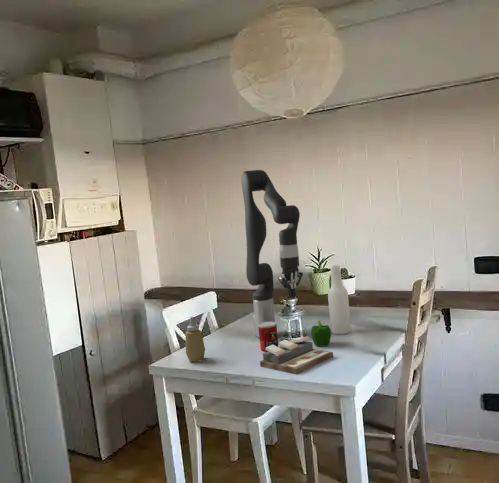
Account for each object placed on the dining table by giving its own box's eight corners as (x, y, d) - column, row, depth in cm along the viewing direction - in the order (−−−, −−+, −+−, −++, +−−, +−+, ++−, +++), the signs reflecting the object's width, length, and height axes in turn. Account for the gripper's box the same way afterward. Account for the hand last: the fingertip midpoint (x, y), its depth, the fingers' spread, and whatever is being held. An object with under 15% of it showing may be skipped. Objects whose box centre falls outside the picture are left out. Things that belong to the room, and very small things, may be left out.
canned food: (266, 353, 233) (263, 327, 232) (257, 349, 240) (254, 324, 239) (282, 349, 237) (279, 323, 235) (272, 345, 244) (270, 320, 243)
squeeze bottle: (198, 363, 228) (193, 320, 226) (182, 362, 233) (177, 319, 231) (210, 357, 235) (205, 315, 233) (194, 356, 239) (189, 314, 237)
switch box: (260, 366, 217) (259, 353, 217) (297, 350, 233) (296, 338, 232) (296, 374, 204) (295, 360, 204) (333, 357, 220) (332, 344, 219)
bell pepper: (331, 347, 232) (329, 323, 231) (311, 348, 234) (309, 324, 233) (332, 341, 241) (330, 318, 240) (313, 342, 242) (311, 319, 241)
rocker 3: (291, 344, 227) (290, 340, 227) (297, 341, 230) (296, 337, 230) (302, 342, 222) (301, 338, 223) (309, 340, 225) (308, 336, 225)
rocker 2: (278, 346, 222) (278, 342, 221) (285, 343, 224) (285, 339, 224) (290, 351, 217) (291, 347, 217) (297, 348, 220) (297, 344, 220)
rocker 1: (265, 350, 216) (265, 347, 216) (272, 348, 219) (272, 344, 219) (277, 357, 212) (278, 353, 212) (284, 354, 215) (285, 350, 214)
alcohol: (345, 328, 259) (339, 263, 256) (354, 332, 251) (349, 265, 248) (327, 331, 256) (322, 266, 253) (336, 336, 248) (331, 268, 245)
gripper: (293, 252, 236) (296, 293, 238) (271, 257, 227) (274, 300, 229) (307, 253, 230) (309, 295, 233) (285, 258, 221) (288, 302, 223)
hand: (292, 297), depth 231 cm, fingers closed
